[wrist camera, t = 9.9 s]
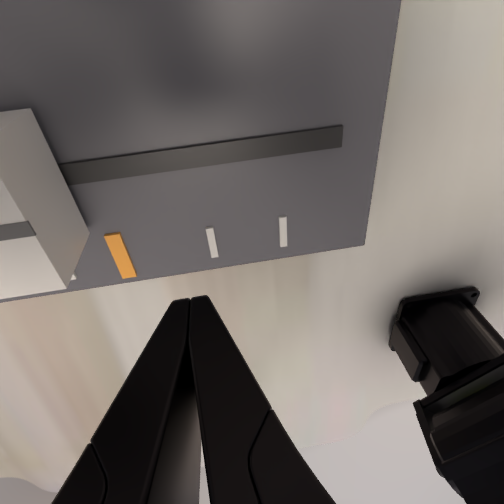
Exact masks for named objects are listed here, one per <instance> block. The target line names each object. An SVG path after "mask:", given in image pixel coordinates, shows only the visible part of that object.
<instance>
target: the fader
mask: <svg viewBox="0 0 504 504" xmlns="http://www.w3.org/2000/svg"><path fill="white" fill-rule="evenodd" d="M89 234H90V233H89V230H88V228H87V226H86V224H85V222H84V220H83V218H82V216H81V214H80V211H79V209H78V207H77V205H76V203H75V201H74V199H73V197H72V195H71V192H70V190H69V188H68V186H67V184H66V182H65V180H64V178H63V175H62V173H61V171H60V169H59V167H58V165H57V163H56V161H55V159H54V156H53V154H52V152H51V150H50V148H49V146H48V144H47V142H46V140H45V137H44V135H43V133H42V131H41V129H40V127H39V125H38V123H37V120H36V118H35V116H34V114H33V112H32V110H31V108H27V109H19V110H12V111H4V112H0V299H5V298H12V297H18V296H24V295H31V294H37V293H44V292H50V291H56V290H63V289H67V287H68V285H69V282H70V280H71V278H72V275H73V273H74V270H75V268H76V265H77V263H78V261H79V258H80V256H81V253H82V251H83V248H84V246H85V244H86V241H87V239H88V236H89Z"/></svg>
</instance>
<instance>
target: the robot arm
mask: <svg viewBox="0 0 504 504" xmlns="http://www.w3.org/2000/svg"><path fill="white" fill-rule="evenodd" d="M479 295H480V291H479V290H478V289H477V288H475V287H472V288H466V289H460V290H454V291H448V292H442V293H436V294H430V295H424V296H418V297H412V298H407V299H404V300H403V301H401V303H400V306H399V310H398V314H397V317H396V321H395V323H394V327H393V331H392V334H391V338H390V343H389V347H390V349H391V350H392V351H396V353H397V354H398V356H399V358H400V360H401V361H402V363H403V365H404V367H405V369H406V370H407V372H408V374H409V376H410V377H411V379H412V380H413V381H414V382H420V384H421V386H422V387H423V389H424V391H425V393H426V394H427V397H425V398H423V399H421V400H417V401H415V402H413V405H414V408H415V410H416V416H417V418H418V421H419V424H420V427H421V429H422V432H423V435H424V437H425V440H426V443H427V446H428V448H429V451H430V454H431V456H432V459H433V462H434V464H435V466H436V470H437V472H438V473H439V475H440V476H442V477H444V478H445V479H446V480H447V482H448V483H449V484H450V485H451V487H452V488H453V489H454V490H455V491H456V492H457V494H459V495H460V496H461V497H462V498H464V500H465V502H466V503H467V504H504V339H503V338H502V337H501V335H500V334H499V333H498V332H497V331H496V330H495V329H494V328H493V326H492V325H491V324H490V323H489V322H488V321H487V320H486V319H485V317H484V316H483V315H482V314H481V313H480V312H479V311H478V310H477V308H476V307H475V306H474V305H475V303H476V301H477V299H478V297H479ZM201 440H202V447H203V454H204V462H205V469H206V476H207V483H208V490H209V498H210V504H336V503H335V502H334V500H333V499H332V498H331V496H330V495H329V494H328V492H327V491H326V490H325V488H324V487H323V486H322V484H321V483H320V482H319V480H318V479H317V477H316V476H315V475H314V473H313V472H312V470H311V469H310V468H309V466H308V465H307V463H306V462H305V461H304V459H303V457H302V456H301V455H300V453H299V452H298V450H297V449H296V447H295V445H294V444H293V442H292V440H291V439H290V437H289V436H288V434H287V432H286V431H285V429H284V427H283V426H282V424H281V422H280V420H279V419H278V417H277V415H276V413H275V412H274V410H272V407H271V405H270V403H269V402H268V400H267V398H266V396H265V395H264V393H263V391H262V389H261V388H260V386H259V384H258V382H257V381H256V379H255V377H254V375H253V374H252V372H251V370H250V368H249V367H248V365H247V363H246V361H245V359H244V358H243V356H242V354H241V352H240V351H239V349H238V347H237V345H236V344H235V342H234V340H233V338H232V337H231V335H230V333H229V331H228V330H227V328H226V326H225V324H224V323H223V321H222V319H221V317H220V316H219V314H218V312H217V310H216V309H215V307H214V305H213V303H212V302H211V300H210V298H209V297H208V296H207V295H203V296H197V297H192V298H191V300H190V299H189V298H185V299H179V300H174V301H172V302H171V304H170V306H169V307H168V309H167V311H166V313H165V314H164V316H163V318H162V319H161V321H160V323H159V324H158V326H157V328H156V329H155V331H154V333H153V335H152V336H151V338H150V340H149V341H148V343H147V345H146V346H145V348H144V350H143V352H142V353H141V355H140V357H139V358H138V360H137V362H136V363H135V365H134V367H133V368H132V370H131V372H130V374H129V375H128V377H127V379H126V380H125V382H124V384H123V385H122V387H121V389H120V391H119V392H118V394H117V396H116V397H115V399H114V401H113V402H112V404H111V406H110V408H109V409H108V411H107V413H106V414H105V416H104V418H103V419H102V421H101V423H100V424H99V426H98V428H97V430H96V431H95V433H94V435H93V436H92V438H91V443H89V444H88V445H87V446H86V448H85V450H84V451H83V453H82V455H81V456H80V458H79V460H78V461H77V463H76V465H75V466H74V468H73V470H72V471H71V473H70V475H69V476H68V478H67V479H66V481H65V483H64V484H63V486H62V487H61V489H60V491H59V492H58V494H57V495H56V497H55V499H54V500H53V502H52V504H199V489H200V462H201Z"/></svg>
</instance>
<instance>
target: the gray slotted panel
mask: <svg viewBox="0 0 504 504" xmlns="http://www.w3.org/2000/svg"><path fill="white" fill-rule="evenodd" d="M400 5H401V0H0V112H4V111H12V110H19V109H27V108H31V110H32V112H33V114H34V116H35V118H36V120H37V123H38V125H39V127H40V129H41V131H42V133H43V135H44V137H45V140H46V142H47V144H48V146H49V148H50V150H51V152H52V154H53V156H54V159H55V161H56V163H57V165H58V167H59V169H60V171H61V173H62V175H63V178H64V180H65V182H66V184H67V186H68V188H69V190H70V192H71V195H72V197H73V199H74V201H75V203H76V205H77V207H78V209H79V211H80V214H81V216H82V218H83V220H84V222H85V224H86V226H87V228H88V230H89V233H90V234H89V236H88V239H87V241H86V244H85V246H84V248H83V251H82V253H81V256H80V258H79V261H78V263H77V265H76V268H75V270H74V273H73V275H72V278H71V280H70V282H69V285H68V287H67V289H63V290H56V291H50V292H44V293H37V294H31V295H24V296H18V297H12V298H5V299H0V303H1V302H8V301H14V300H20V299H27V298H33V297H39V296H46V295H52V294H58V293H65V292H71V291H77V290H84V289H90V288H96V287H103V286H109V285H115V284H122V283H128V282H134V281H141V280H147V279H153V278H159V277H166V276H172V275H178V274H185V273H191V272H197V271H204V270H210V269H216V268H223V267H229V266H235V265H242V264H248V263H254V262H261V261H267V260H273V259H280V258H286V257H292V256H299V255H305V254H311V253H318V252H324V251H330V250H337V249H343V248H349V247H356V246H362V245H364V244H365V237H366V231H367V224H368V217H369V211H370V204H371V198H372V191H373V184H374V178H375V171H376V164H377V158H378V151H379V145H380V138H381V131H382V125H383V118H384V111H385V105H386V98H387V92H388V85H389V78H390V72H391V65H392V58H393V52H394V45H395V38H396V32H397V25H398V19H399V12H400Z"/></svg>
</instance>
